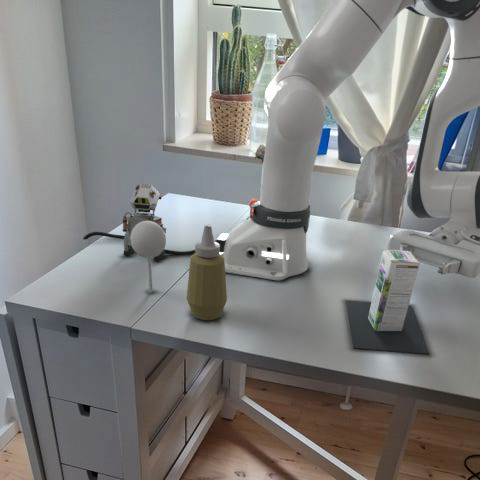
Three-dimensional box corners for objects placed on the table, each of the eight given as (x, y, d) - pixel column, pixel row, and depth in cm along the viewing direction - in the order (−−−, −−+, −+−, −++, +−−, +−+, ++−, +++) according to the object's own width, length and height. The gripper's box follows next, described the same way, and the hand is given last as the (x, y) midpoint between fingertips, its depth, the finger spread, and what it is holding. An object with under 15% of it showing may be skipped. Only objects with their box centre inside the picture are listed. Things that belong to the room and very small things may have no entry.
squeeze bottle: (221, 326, 111) (224, 235, 100) (181, 320, 112) (180, 230, 101) (230, 308, 117) (234, 220, 106) (192, 302, 118) (192, 215, 107)
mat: (353, 348, 107) (354, 347, 107) (346, 301, 122) (346, 300, 122) (428, 354, 106) (428, 353, 106) (410, 306, 122) (411, 305, 122)
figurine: (173, 247, 141) (171, 184, 132) (156, 264, 132) (153, 198, 123) (138, 242, 143) (134, 179, 133) (120, 259, 134) (114, 193, 125)
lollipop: (172, 288, 123) (171, 219, 114) (158, 302, 118) (155, 230, 108) (143, 282, 125) (139, 213, 115) (128, 295, 119) (122, 224, 110)
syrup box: (366, 318, 116) (381, 249, 107) (394, 318, 117) (411, 249, 108) (374, 331, 112) (390, 261, 103) (403, 332, 112) (421, 261, 103)
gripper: (407, 218, 126) (377, 234, 118) (497, 244, 117) (472, 262, 108) (400, 246, 130) (371, 263, 122) (487, 273, 121) (462, 293, 112)
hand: (420, 263), depth 115 cm, fingers open, 8 cm apart
